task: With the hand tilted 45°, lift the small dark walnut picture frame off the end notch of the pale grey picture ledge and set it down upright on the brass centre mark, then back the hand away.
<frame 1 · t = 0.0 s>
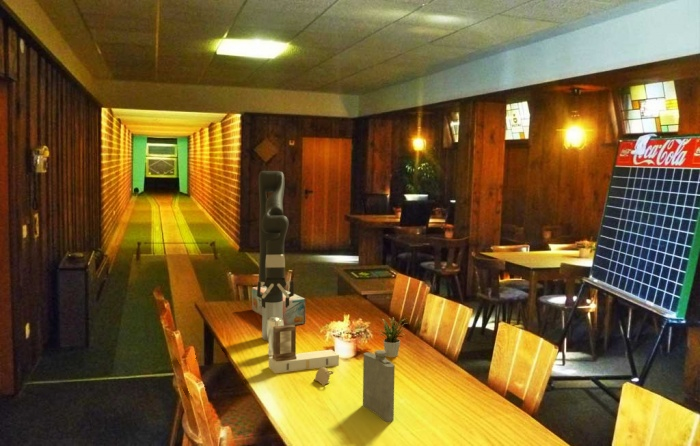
hand: (275, 307, 248), 22 cm above the table, tool pointing down, fingers open, 8 cm apart
picture ledge: (304, 366, 247), on the table
beer glass: (275, 355, 262), on the table
house plant: (394, 355, 263), on the table
hip flask: (378, 413, 203), on the table
soda box: (277, 317, 325), on the table
decorative ornament: (323, 383, 230), on the table
picture frame: (284, 358, 244), point 4 cm above the table, touching picture ledge
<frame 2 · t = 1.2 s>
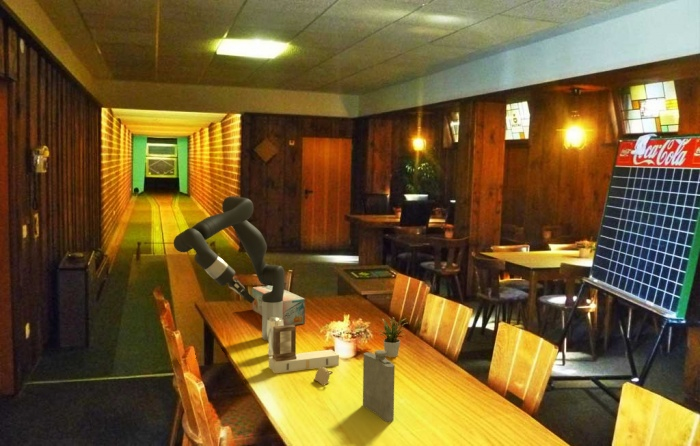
hand: (249, 299, 240), 27 cm above the table, tool tilted 45°, fingers open, 8 cm apart
nothing on the table moved.
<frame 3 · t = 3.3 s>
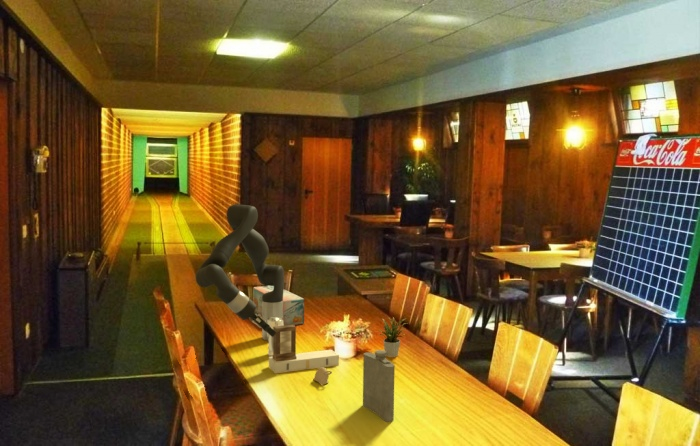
hand: (270, 331, 241), 15 cm above the table, tool tilted 45°, fingers open, 8 cm apart
nothing on the table moved.
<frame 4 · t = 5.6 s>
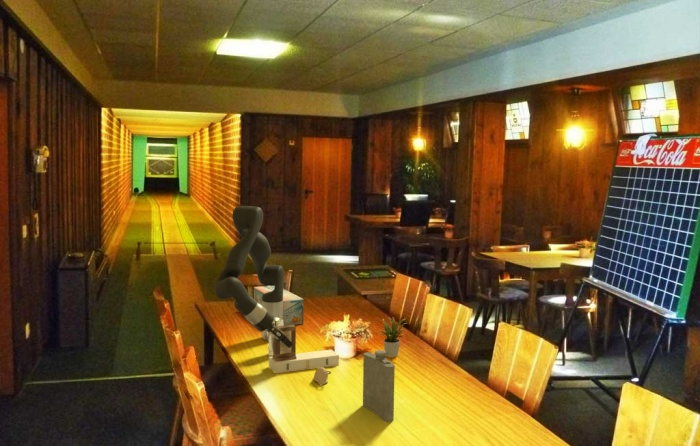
hand: (289, 344, 244), 9 cm above the table, tool tilted 45°, fingers closed on picture frame, 3 cm apart
picture frame: (284, 358, 244), point 4 cm above the table, touching gripper, picture ledge
everything else where it was.
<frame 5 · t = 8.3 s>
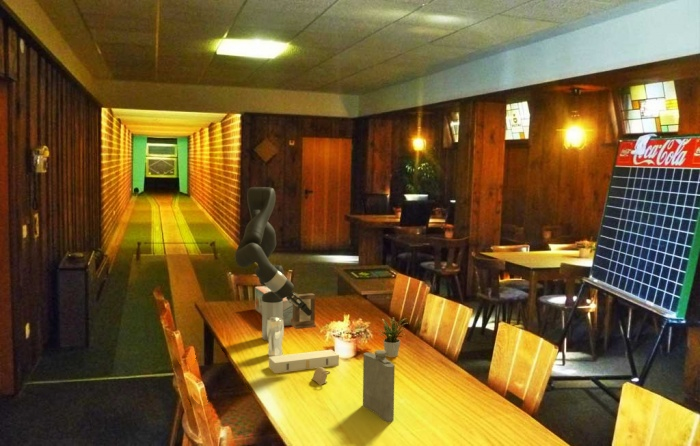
hand: (308, 312, 246), 21 cm above the table, tool tilted 45°, fingers closed on picture frame, 3 cm apart
picture frame: (303, 326, 246), point 16 cm above the table, touching gripper
when the fingers open (11 cm above the table, at t = 11.0 s): picture frame drops 1 cm, resting on picture ledge.
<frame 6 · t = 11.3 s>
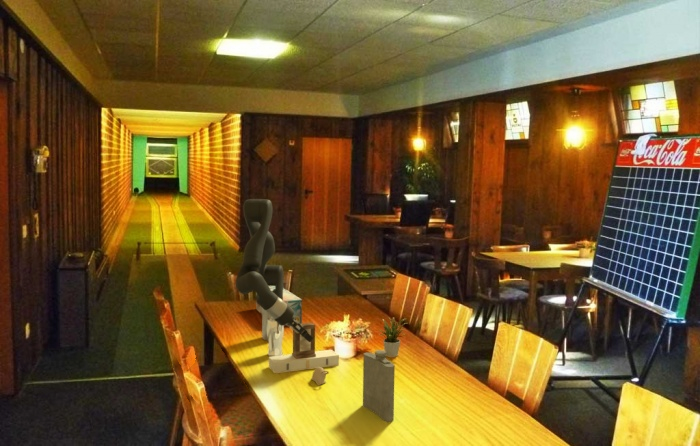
hand: (308, 338, 247), 11 cm above the table, tool tilted 45°, fingers open, 5 cm apart
picture frame: (303, 356, 247), point 4 cm above the table, touching picture ledge
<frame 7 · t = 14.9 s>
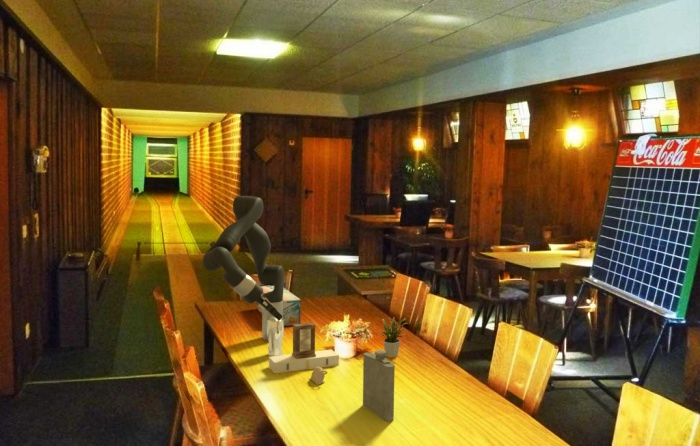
hand: (277, 315, 241), 21 cm above the table, tool tilted 45°, fingers open, 8 cm apart
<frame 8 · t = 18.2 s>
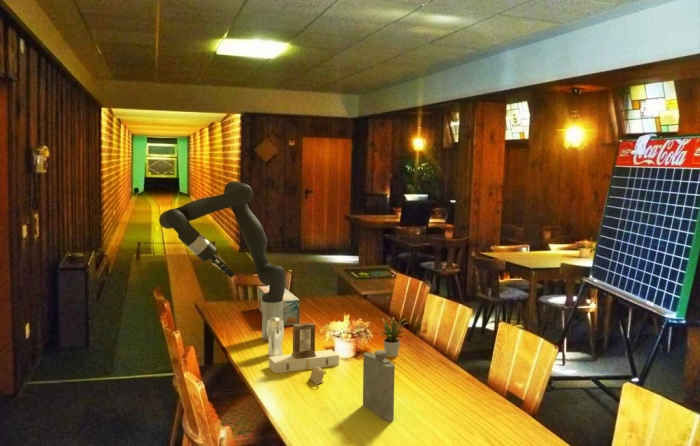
hand: (230, 274, 256), 34 cm above the table, tool tilted 45°, fingers open, 8 cm apart
at the end: picture frame 0.1 cm off-centre on the picture ledge, point 4.0 cm above the picture ledge's base; picture frame tilted 0°; the gripper is holding nothing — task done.
